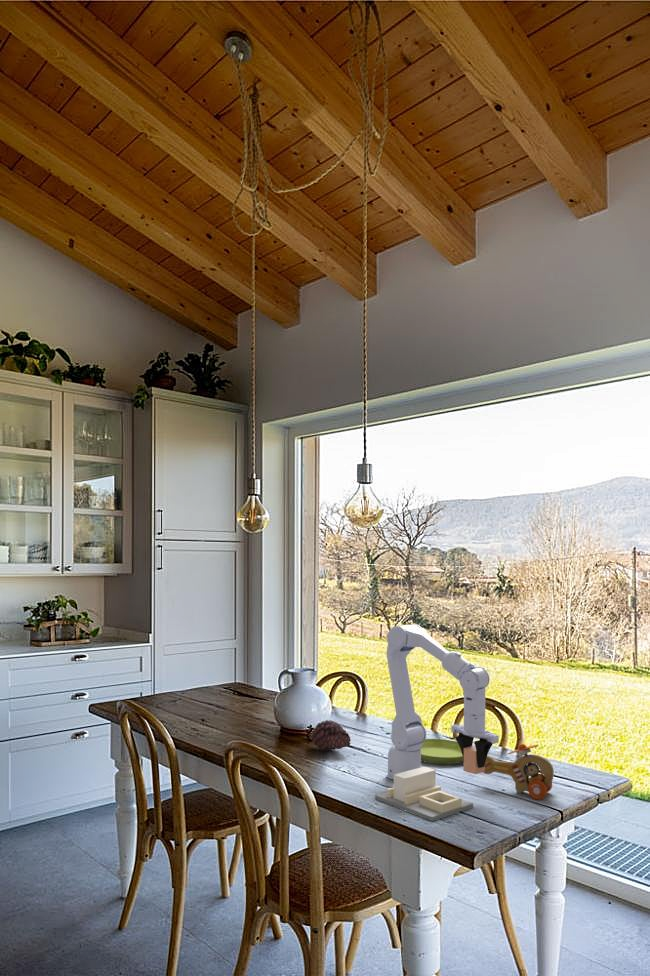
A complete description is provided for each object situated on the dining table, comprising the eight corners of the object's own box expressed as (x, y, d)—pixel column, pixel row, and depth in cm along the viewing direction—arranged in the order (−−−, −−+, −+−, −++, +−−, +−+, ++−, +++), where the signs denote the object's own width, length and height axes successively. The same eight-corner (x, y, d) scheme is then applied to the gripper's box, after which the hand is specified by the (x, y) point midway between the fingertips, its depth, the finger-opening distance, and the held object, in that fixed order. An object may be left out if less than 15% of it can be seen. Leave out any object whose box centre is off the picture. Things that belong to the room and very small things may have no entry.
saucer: (397, 761, 236) (397, 750, 236) (419, 745, 254) (419, 735, 254) (462, 771, 227) (462, 760, 227) (479, 754, 245) (479, 744, 245)
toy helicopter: (549, 802, 200) (549, 749, 201) (474, 788, 210) (474, 738, 211) (556, 793, 207) (556, 742, 208) (483, 780, 217) (483, 732, 218)
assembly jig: (375, 798, 200) (375, 787, 200) (416, 786, 210) (416, 776, 210) (431, 821, 185) (432, 808, 185) (473, 807, 195) (473, 795, 195)
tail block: (463, 770, 202) (463, 747, 203) (472, 767, 205) (473, 745, 205) (475, 774, 199) (475, 751, 200) (484, 771, 202) (484, 748, 202)
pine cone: (359, 755, 240) (359, 723, 241) (336, 761, 233) (337, 728, 234) (323, 743, 253) (323, 713, 254) (300, 748, 247) (300, 717, 247)
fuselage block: (393, 797, 198) (393, 774, 198) (424, 788, 206) (424, 766, 206) (404, 802, 195) (404, 778, 195) (435, 792, 203) (435, 770, 203)
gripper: (444, 710, 206) (443, 761, 205) (487, 720, 195) (486, 774, 194) (460, 707, 210) (460, 756, 209) (503, 717, 199) (503, 769, 198)
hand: (474, 764), depth 202 cm, fingers closed on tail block, 4 cm apart
